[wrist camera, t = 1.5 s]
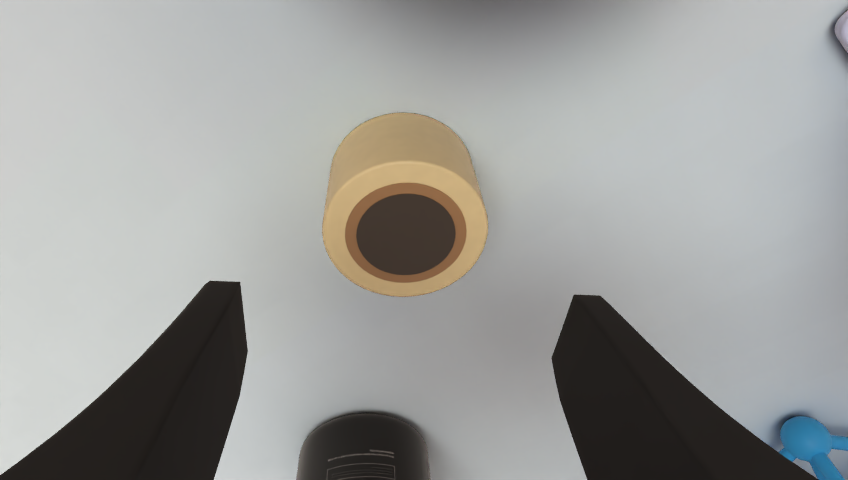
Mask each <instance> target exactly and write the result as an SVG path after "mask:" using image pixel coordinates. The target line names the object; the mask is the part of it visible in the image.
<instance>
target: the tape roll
mask: <svg viewBox="0 0 848 480" xmlns="http://www.w3.org/2000/svg"><path fill="white" fill-rule="evenodd" d="M322 234H323V241H324V245H325V248H326V251H327V253H328V255H329V257H330V259H331V261H332V262H333V264H334V265H335V266H336V268H337V269H338V270H339V271H340V272H341V273H342V274H343V275H344V276H345V277H346V278H348V279H349V280H350V281H352V282H353V283H355V284H356V285H358V286H360V287H362V288H364V289H366V290H369V291H372V292H375V293H379V294H382V295H388V296H398V297H408V296H418V295H424V294H428V293H432V292H435V291H437V290H440V289H443V288H445V287H447V286H449V285H451V284H452V283H454V282H455V281H457V280H458V279H460V278H461V277H462V276H463V275H465V274H466V273H467V272H468V271H469V270H470V269H471V268H472V267H473V265H474V264H475V263H476V261H477V260H478V258H479V256H480V255H481V253H482V251H483V248H484V246H485V243H486V239H487V234H488V218H487V213H486V209H485V206H484V202H483V199H482V195H481V192H480V189H479V185H478V182H477V178H476V175H475V172H474V168H473V165H472V161H471V158H470V155H469V153H468V151H467V149H466V147H465V145H464V144H463V142H462V141H461V139H460V138H459V137H458V136H457V135H456V134H455V133H454V132H453V131H452V130H451V129H450V128H448V127H447V126H445V125H444V124H443V123H441V122H439V121H437V120H435V119H432V118H430V117H427V116H423V115H419V114H413V113H392V114H386V115H382V116H378V117H375V118H373V119H371V120H368V121H366V122H364V123H363V124H361V125H359V126H358V127H356V128H355V129H354V130H353V131H351V132H350V133H349V134H348V135H347V136H346V137H345V138H344V140H343V141H342V143H341V144H340V145H339V147H338V149H337V151H336V153H335V155H334V158H333V161H332V165H331V170H330V177H329V184H328V190H327V197H326V204H325V211H324V217H323V226H322Z"/></svg>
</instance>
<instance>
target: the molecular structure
mask: <svg viewBox="0 0 848 480" xmlns="http://www.w3.org/2000/svg"><path fill="white" fill-rule="evenodd" d="M780 436H781V441H782V444H783V446H784V448H783V449H782V450H781V451H780V452H779V453H780V454H781V455H783V456H784V457H786V458H787V459H789V460H790V461H792V462H793V461H794V460H795V459H796V458H798V459H800V460H804V461H808V462H810V464H811V466H812V468H813V470H814V472H815V474H816V476H817V478H818V480H845V479H844V478H843V477H842V475H841V474H840V473H839V471H838V470H837V469H836V467H835V466H834V464H833V463H832V462H831V460H830V459H829V458H828V456H827V455H828V454H829V453H830V451H831V449H838V450H846V451H848V437H843V436H836V435H830V433H829V431H828V430H827V428H826V427H825V426H824V425H823V424H822V423H820V422H819V421H817V420H815V419H812V418H810V417H805V416H797V417H793V418H791V419H789V420H787V421H786V422H785V423H784V424H783V426H782V428H781V431H780Z"/></svg>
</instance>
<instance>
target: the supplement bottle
mask: <svg viewBox="0 0 848 480" xmlns="http://www.w3.org/2000/svg"><path fill="white" fill-rule="evenodd" d="M296 480H431V478H430V468H429V459H428V451H427V446H426V443H425V441H424V439H423V438H422V436H421V435H420V433H419V432H418V431H417V430H416V429H414V428H413V427H412V426H411V425H409V424H408V423H406V422H404V421H402V420H400V419H397V418H394V417H391V416H387V415H381V414H372V413H363V414H352V415H346V416H342V417H339V418H336V419H333V420H331V421H328V422H326V423H324V424H323V425H321V426H319V427H318V428H317V429H315V430H314V431H313V432H312V433H311V434H310V435H309V436H308V437H307V439H306V440H305V442H304V444H303V446H302V448H301V451H300V456H299V463H298V470H297V478H296Z"/></svg>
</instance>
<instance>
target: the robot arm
mask: <svg viewBox="0 0 848 480" xmlns="http://www.w3.org/2000/svg"><path fill="white" fill-rule="evenodd" d="M835 34H836V36H837V38H838V39H839V41H840V42H841V44H842V46H843V47H844V49H845V50H846V52H847V53H848V10H847V11H846V12H845V13H844V14H843V15H842V16H841V17H840V18H839V19H838V21H837V23H836V25H835ZM247 352H248V350H247V341H246V332H245V322H244V313H243V304H242V295H241V286H240V282H226V281H209V282H208V283H206V284H205V285H204V286H203V287H202V289H201V290H200V291H199V292H198V293H197V295H196V296H195V297H194V298H193V299H192V301H191V302H190V303H189V304H188V305H187V306H186V308H185V309H184V310H183V311H182V312H181V313H180V315H179V316H178V317H177V318H176V319H175V320H174V321H173V322H172V324H171V325H170V326H169V327H168V328H167V329H166V330H165V331H164V332H163V333H162V334H161V336H160V337H159V338H158V339H157V340H156V341H155V342H154V343H153V344H152V345H151V346H150V347H149V348H148V349H147V350H146V352H145V353H144V354H143V355H142V356H141V357H140V358H139V359H138V360H137V361H136V362H135V363H134V364H133V365H132V366H131V367H130V368H129V369H128V370H126V371H125V372H124V373H123V374H122V375H121V376H120V377H119V378H118V379H117V380H116V381H115V382H114V383H113V384H112V385H111V386H110V387H109V388H108V389H107V390H106V391H105V392H103V393H102V394H101V395H100V396H99V397H98V398H97V399H96V400H95V401H93V402H92V403H91V404H90V405H89V406H88V407H87V408H86V409H84V410H83V411H82V412H81V413H80V414H79V415H77V416H76V417H75V418H74V419H73V420H71V421H70V422H69V423H68V424H67V425H65V426H64V427H63V428H62V429H61V430H59V431H58V432H57V433H56V434H54V435H53V436H52V437H50V438H49V439H48V440H47V441H45V442H44V443H43V444H41V445H40V446H39V447H37V448H36V449H35V450H34V451H32V452H31V453H30V454H28V455H27V456H26V457H24V458H23V459H22V460H21V461H19V462H18V463H17V464H15V465H14V466H12V467H11V468H10V469H8V470H7V471H6V472H4V473H3V474H1V475H0V480H214V477H215V473H216V470H217V467H218V464H219V461H220V457H221V454H222V451H223V448H224V445H225V441H226V438H227V435H228V432H229V429H230V425H231V422H232V419H233V416H234V412H235V409H236V406H237V402H238V399H239V396H240V391H241V385H242V380H243V375H244V369H245V363H246V358H247ZM552 363H553V368H554V374H555V379H556V384H557V388H558V393H559V398H560V401H561V405H562V408H563V411H564V414H565V417H566V419H567V422H568V425H569V428H570V431H571V434H572V437H573V440H574V443H575V446H576V448H577V451H578V454H579V457H580V460H581V463H582V466H583V468H584V471H585V474H586V477H587V480H818V479H817V478H815V477H814V476H812V475H811V474H809V473H808V472H806V471H805V470H803V469H802V468H800V467H799V466H798V465H796V464H795V463H793V462H792V461H790V460H789V459H787V458H786V457H784V456H783V455H781V454H780V453H778V452H777V451H776V450H774V449H773V448H771V447H770V446H769V445H767V444H766V443H764V442H763V441H762V440H760V439H759V438H758V437H756V436H755V435H754V434H753V433H751V432H750V431H749V430H747V429H746V428H745V427H743V426H742V425H741V424H739V423H738V422H737V421H736V420H734V419H733V418H732V417H730V416H729V415H728V414H727V413H725V412H724V411H723V410H722V409H721V408H719V407H718V406H717V405H716V404H714V403H713V402H712V401H711V400H710V399H709V398H708V397H706V396H705V395H704V394H703V393H702V392H701V391H699V390H698V389H697V388H696V387H695V386H694V385H693V384H691V383H690V382H689V381H688V380H687V379H686V378H685V377H684V376H683V375H682V374H680V373H679V372H678V371H677V370H676V369H675V368H674V367H673V366H672V365H671V364H670V363H669V362H668V361H666V360H665V359H664V358H663V357H662V356H661V355H660V354H659V353H658V352H657V351H656V350H655V349H654V348H653V347H652V346H651V345H650V344H649V343H648V342H647V341H646V340H645V339H644V338H643V337H642V336H641V335H640V334H639V333H638V332H637V331H636V330H635V329H634V328H633V327H632V326H631V325H630V324H629V323H628V322H627V321H626V320H625V319H624V318H623V317H622V316H621V315H620V314H619V313H618V312H617V311H616V310H615V309H614V308H613V307H612V306H611V305H610V304H609V303H608V302H606V301H605V300H604V299H603V298H602V297H601V296H595V295H574V296H573V299H572V302H571V305H570V307H569V310H568V313H567V316H566V319H565V322H564V324H563V327H562V330H561V333H560V336H559V339H558V341H557V344H556V347H555V350H554V353H553V356H552Z"/></svg>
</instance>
